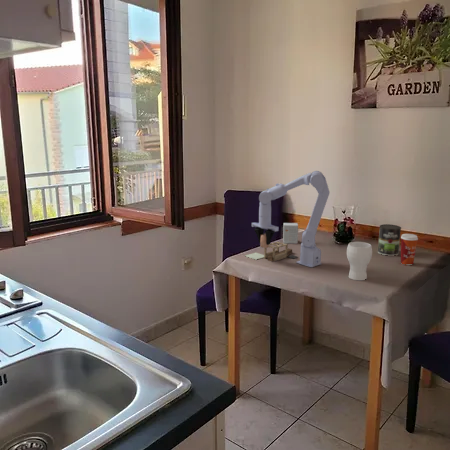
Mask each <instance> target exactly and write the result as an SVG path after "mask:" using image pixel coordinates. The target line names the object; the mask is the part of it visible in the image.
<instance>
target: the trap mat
mask: <svg viewBox="0 0 450 450" xmlns="http://www.w3.org/2000/svg"><path fill="white" fill-rule="evenodd" d="M286 258H289V259H292V260H294V259H298V258H299V256H298V255H293V254H290V255H287V257H286Z"/></svg>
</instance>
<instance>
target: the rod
mask: <svg viewBox="0 0 450 450" xmlns="http://www.w3.org/2000/svg"><path fill="white" fill-rule="evenodd" d="M282 253H285V249H283V250H281V251H280V250H279V252H278V253H275V255H278V254H282ZM292 254H293V249H292V248H288V252H287V256H290V255H292ZM267 261H269V262H274V261H273V255H270V256H268V258H267Z"/></svg>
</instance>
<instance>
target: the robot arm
mask: <svg viewBox="0 0 450 450" xmlns="http://www.w3.org/2000/svg"><path fill="white" fill-rule="evenodd" d="M302 185H305V186H310V185H311V186H312V187H313V188H314V189H315V190H316V192H317V193H318V195H317V197H316V200H315V203H314V206H313V209H312V212H311V215H310V217H309V220H308V224H307V225H306V228H305V230H304V231H303V232H302V235H301V243H300V251H299V252H300V254H299V260H297V261H295V263H296V264H299V265H301V266H305V267H308V268H314V267H317V266H321V265H322V250H321V249H320V248H319V247H317V244H316V236H317V235H316V234H317V231H318V228H319V224H320V222H321V219H322V216H323V213H324V210H325V208H326V204H327V202H328V200H329V196H330V189H329V186H328V185H329V184H328V183H327V179H326V176H325V175H324V173H322V171H319V170H314V171H312V172H308V173H306V174H303V175H301V176H299V177H297V178H295V179H293V180H291V181H289V182H287V183H285V184H284V183H276V184H275V185H274V186H272V187H270V188H266V190H263V191H261V192H260V194H259V196H258V201H259V207H258V222H251V227H252V228H254V232H255V234H256V237H257V240H258V241H257V242H258V243H259V244H260V237H261V234H266V244H267V245H269V244H271V243H272V240H273V239H272V238H273V235H274V234H275V232H279V231H280V230H279V226H277V225H273V224H272V201H275V200H276V199H280V198H281V197H283V196H286V195H287V192H288V191H290V190H293V189H295V188H297V187H299V186H302ZM269 246H270V245H269Z"/></svg>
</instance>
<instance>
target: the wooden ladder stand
mask: <svg viewBox="0 0 450 450" xmlns="http://www.w3.org/2000/svg"><path fill="white" fill-rule="evenodd" d="M288 245H289V243H283V242H280V241H275V242H270V244H269V247H268V248H272V251H269V252H267V251H268V250H267V249H268V248H263V251H264V252H263V255H264V258H263V259H268V256H270V255H273V261H272V262H276V261H279V260H282V259H283V260H284V259H286V258H288V257H287V256H288V255H287V252H288V247H289V246H288ZM282 247H285V249H284V250H285V253H282V254H278V255H275V253H278V252H280V248H282Z"/></svg>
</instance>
